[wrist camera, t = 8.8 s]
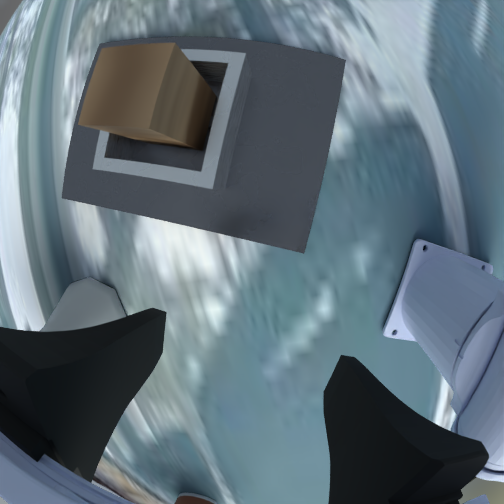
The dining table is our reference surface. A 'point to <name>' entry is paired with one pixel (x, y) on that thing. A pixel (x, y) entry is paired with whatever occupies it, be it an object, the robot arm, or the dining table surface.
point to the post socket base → (224, 146)
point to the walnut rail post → (149, 96)
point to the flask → (85, 307)
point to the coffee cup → (194, 499)
